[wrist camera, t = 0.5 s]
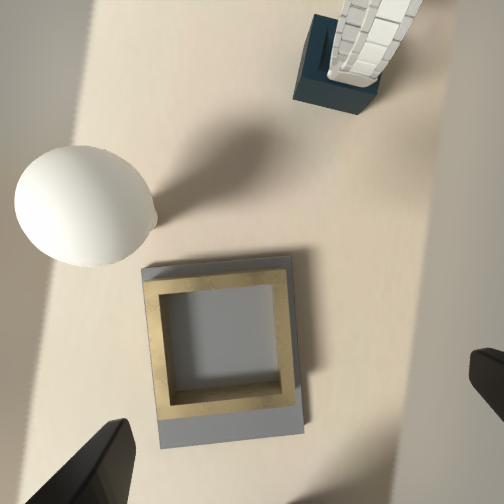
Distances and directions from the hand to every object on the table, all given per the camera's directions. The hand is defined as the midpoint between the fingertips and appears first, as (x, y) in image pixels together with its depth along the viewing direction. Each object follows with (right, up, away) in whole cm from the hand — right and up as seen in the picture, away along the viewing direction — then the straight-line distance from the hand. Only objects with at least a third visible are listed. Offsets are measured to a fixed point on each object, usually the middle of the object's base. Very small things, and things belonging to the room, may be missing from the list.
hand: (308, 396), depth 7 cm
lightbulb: (-10, +6, +15) cm, 20 cm away
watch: (+5, +18, +15) cm, 24 cm away
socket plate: (-4, -5, +16) cm, 17 cm away
